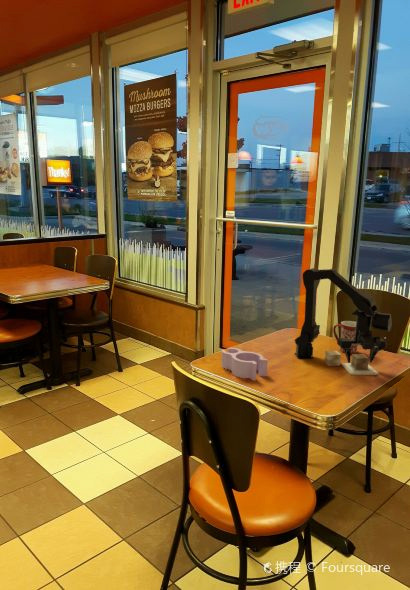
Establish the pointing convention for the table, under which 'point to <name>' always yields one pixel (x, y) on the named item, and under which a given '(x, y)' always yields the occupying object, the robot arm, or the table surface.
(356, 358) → the walnut cube
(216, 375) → the table surface
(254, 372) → the clip
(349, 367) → the plate
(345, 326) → the mug
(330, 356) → the maple cube
